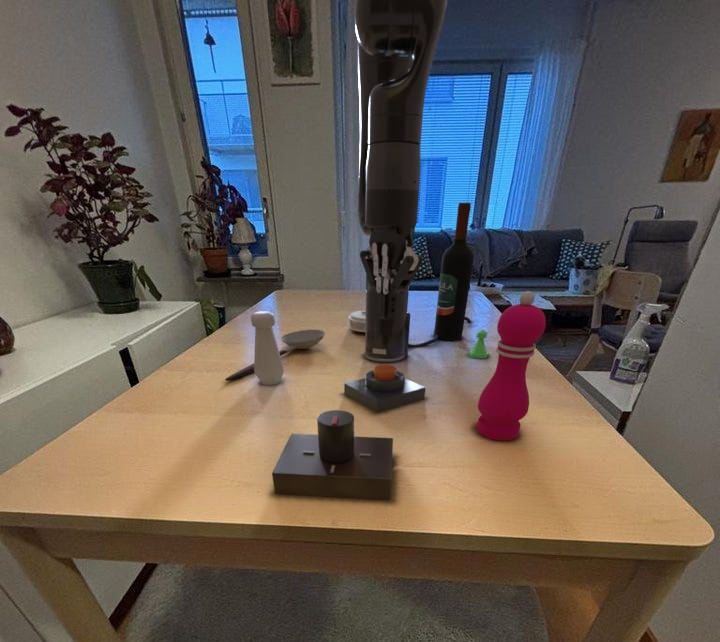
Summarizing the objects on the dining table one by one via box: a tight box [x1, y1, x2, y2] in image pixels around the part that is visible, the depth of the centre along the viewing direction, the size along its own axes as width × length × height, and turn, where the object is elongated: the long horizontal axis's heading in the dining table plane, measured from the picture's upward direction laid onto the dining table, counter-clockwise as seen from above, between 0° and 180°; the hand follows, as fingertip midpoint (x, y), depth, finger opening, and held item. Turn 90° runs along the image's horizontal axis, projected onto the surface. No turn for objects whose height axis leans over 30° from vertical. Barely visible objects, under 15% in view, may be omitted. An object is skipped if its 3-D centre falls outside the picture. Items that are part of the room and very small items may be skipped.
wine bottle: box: [433, 202, 474, 342], centre depth 99 cm, size 8×8×30 cm
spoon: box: [224, 329, 326, 381], centre depth 90 cm, size 11×33×3 cm, turn 152°
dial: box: [316, 409, 355, 463], centre depth 48 cm, size 4×4×5 cm
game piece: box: [468, 329, 489, 359], centre depth 92 cm, size 4×4×6 cm
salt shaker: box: [250, 310, 285, 386], centre depth 75 cm, size 6×6×13 cm
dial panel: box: [271, 433, 394, 501], centre depth 50 cm, size 14×10×3 cm
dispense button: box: [373, 364, 397, 380], centre depth 70 cm, size 4×4×2 cm
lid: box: [347, 309, 366, 333], centre depth 112 cm, size 13×13×5 cm
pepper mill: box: [476, 290, 547, 441], centre depth 56 cm, size 7×7×20 cm
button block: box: [343, 370, 426, 414], centre depth 72 cm, size 11×10×4 cm
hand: (386, 318), depth 65 cm, fingers closed
